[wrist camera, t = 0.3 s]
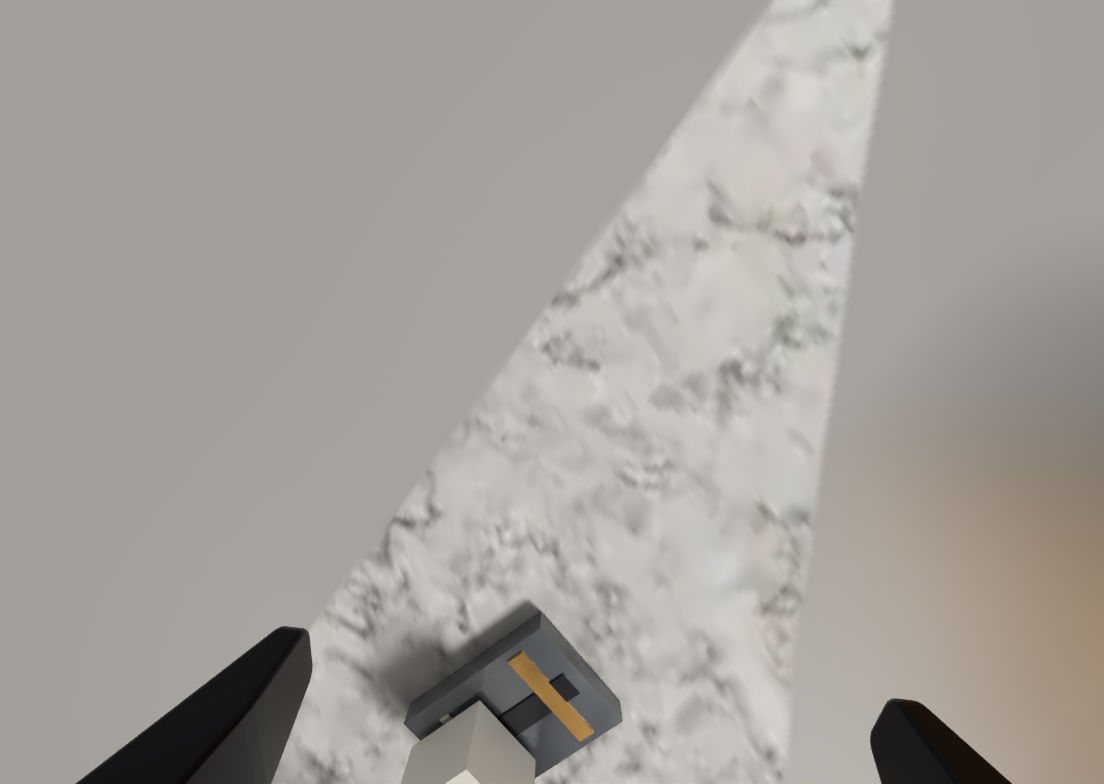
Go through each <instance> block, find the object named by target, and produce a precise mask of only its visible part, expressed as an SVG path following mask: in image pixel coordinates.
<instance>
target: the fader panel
mask: <svg viewBox="0 0 1104 784" xmlns="http://www.w3.org/2000/svg"><path fill="white" fill-rule="evenodd" d="M479 700H480V701H481V702H482V703H483V704H484V705H485V707H486V708H487V709H488V710H489V711H490V712H491V713H492V714H493V715H494V716H495V717H496V718H497V719H498V720H499V721H500V723H501V724H502V725H503V726H504V727H505V728H506V729H507V730H508V731H509V732H510V733H511V734H512V735H513V736H514V738H515V739H516V740H517V741H518V742H519V743H520V744H521V745H522V746H523V747H524V748H525V749H526V750H527V751H528V752H529V754H530V755H531V756H532V757H533V758H534V759H535V760H536V763H535V778H536V777H538V776H539V775H541V774H542V773H544V772H545V771H547V770H548V769H550V768H552V767H553V766H555V765H556V764H558V763H559V762H561V761H562V760H564V759H565V758H567V757H568V756H570V755H571V754H573V753H575V752H576V751H578V750H579V749H581V748H582V747H584V746H585V745H587V744H588V743H590V742H591V741H593V740H595V739H596V738H598V737H599V736H601V735H602V734H604V733H605V732H607V731H608V730H610V729H611V728H613V727H615V726H616V725H618V724H619V723H621V722H622V721H623V720H622V713H621V706H620V701H619V700H618V699H617V697H616V696H615V695H614V694H613V693H612V692H611V691H610V689H609V688H608V687H607V686H606V685H605V684H604V683H603V681H602V680H601V679H600V678H599V677H598V676H597V675H596V674H595V672H594V671H593V670H592V669H591V668H590V667H589V666H588V664H587V663H586V662H585V661H584V660H583V659H582V658H581V656H580V655H579V654H578V653H577V652H576V651H575V650H574V649H573V647H572V646H571V645H570V644H569V643H568V642H567V641H566V639H565V638H564V637H563V636H562V635H561V634H560V633H559V631H558V630H557V629H556V628H555V627H554V626H553V625H552V623H551V622H550V621H549V620H548V619H547V618H546V617H545V616H544V614H543V613H542V612H540V613H539V614H537V615H536V616H535V617H533V618H532V619H530V620H529V621H527V622H526V623H525V624H523V625H522V626H520V627H519V628H518V629H516V630H515V631H513V632H512V633H510V634H509V635H508V636H506V637H505V638H503V639H502V640H500V641H499V642H498V643H496V644H495V645H493V646H492V647H491V648H489V649H488V650H486V651H485V652H483V653H482V654H481V655H479V656H478V657H476V658H475V659H473V660H472V661H471V662H469V663H468V664H466V665H465V666H463V667H462V668H461V669H459V670H458V671H456V672H455V673H454V674H452V675H451V676H449V677H448V678H446V679H445V680H444V681H442V682H441V683H439V684H438V685H436V686H435V687H434V688H432V689H431V690H429V691H428V692H427V693H425V694H424V695H422V696H421V697H419V698H418V699H417V700H415V701H414V702H412V703H411V705H410V707H409V710H408V713H407V716H406V719H405V722H404V724H405V725H406V726H407V727H408V728H409V729H410V730H411V731H412V732H413V733H414V734H415V735H416V736H417V738H418V739H419V740H420V741H421V740H423V739H424V738H425V737H427V736H428V735H430V734H431V733H433V732H434V731H436V730H437V729H439V728H440V727H441V726H443V725H444V724H446V723H447V722H449V721H450V720H452V719H453V718H455V717H456V716H457V715H459V714H460V713H462V712H463V711H465V710H466V709H468V708H469V707H470V706H472V705H473V704H475V703H476V702H478V701H479Z"/></svg>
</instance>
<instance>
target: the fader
mask: <svg viewBox="0 0 1104 784" xmlns="http://www.w3.org/2000/svg"><path fill="white" fill-rule="evenodd" d="M535 763H536V760H535V759H534V758H533V757H532V756H531V755H530V754H529V752H528V751H527V750H526V749H525V748H524V747H523V746H522V745H521V744H520V743H519V742H518V741H517V740H516V739H515V738H514V736H513V735H512V734H511V733H510V732H509V731H508V730H507V729H506V728H505V727H504V726H503V725H502V724H501V723H500V721H499V720H498V719H497V718H496V717H495V716H494V715H493V714H492V713H491V712H490V711H489V710H488V709H487V708H486V707H485V705H484V704H483V703H482V702H481V701H480V700H479V701H478V702H476V703H475V704H473V705H472V706H470V707H469V708H468V709H466V710H465V711H463V712H462V713H460V714H459V715H457V716H456V717H455V718H453V719H452V720H450V721H449V722H447V723H446V724H444V725H443V726H441V727H440V728H439V729H437V730H436V731H434V732H433V733H431V734H430V735H428V736H427V737H425V738H424V739H423V740H421V741H420V742H418V743H417V744H415V745H414V746H412V749H411V753H410V756H409V759H408V762H407V765H406V768H405V772H404V775H403V778H402V781H401V784H534V783H535Z"/></svg>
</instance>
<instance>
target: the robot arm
mask: <svg viewBox="0 0 1104 784" xmlns="http://www.w3.org/2000/svg"><path fill="white" fill-rule="evenodd" d="M311 674H312V656H311V646H310V636H309V633H308V631H307V630H306V629H304V628H296V627H287V626H283V627H280V628H278V629H276V630H274V631H273V632H272V633H270V634H269V635H268V636H267V637H265V638H264V639H263V640H261V641H260V642H259V643H257V644H256V645H255V646H254V647H252V648H251V649H250V650H248V651H247V652H246V653H244V654H243V655H242V656H241V657H239V658H238V659H237V660H235V661H234V662H233V663H232V664H230V665H229V666H228V667H226V668H225V669H224V670H222V671H221V672H220V673H219V674H217V675H216V676H215V677H213V678H212V679H211V680H209V681H208V682H207V683H206V684H204V685H203V686H202V687H200V688H199V689H198V690H197V691H195V692H194V693H193V694H191V695H190V696H189V697H188V698H186V699H185V700H184V701H182V702H181V703H180V704H178V705H177V706H176V707H175V708H173V709H172V710H171V711H169V712H168V713H167V714H165V715H164V716H163V717H162V718H160V719H159V720H158V721H157V722H155V723H154V724H153V725H151V726H150V727H149V728H147V729H146V730H145V731H144V732H142V733H141V734H139V735H138V736H137V737H136V738H135V739H133V740H132V741H130V742H129V743H128V744H126V745H125V746H124V747H123V748H121V749H120V750H119V751H117V752H116V753H115V754H114V755H112V756H111V757H110V758H108V759H107V760H106V761H104V762H103V763H102V764H101V765H99V766H98V767H97V768H95V769H94V770H93V771H92V772H90V773H89V774H88V775H86V776H85V777H84V778H83V779H81V780H80V781H79V782H77V783H76V784H271V783H272V780H273V778H274V775H275V773H276V770H277V767H278V765H279V762H280V759H281V757H282V754H283V751H284V749H285V746H286V743H287V741H288V738H289V735H290V733H291V730H292V727H293V725H294V722H295V719H296V717H297V714H298V711H299V708H300V706H301V703H302V700H303V698H304V695H305V692H306V690H307V687H308V684H309V682H310V678H311ZM870 743H871V749H872V753H873V756H874V760H875V763H876V767H877V770H878V773H879V777H880V780H881V784H1012V783H1011V782H1010V781H1008V780H1007V779H1006V778H1005V777H1004V776H1003V775H1002V774H1000V773H999V772H998V771H997V770H996V769H995V768H994V767H993V766H991V765H990V764H989V763H988V762H987V761H986V760H985V759H984V758H983V757H982V756H980V755H979V754H978V753H977V752H976V751H975V750H974V749H972V748H971V747H970V746H969V745H968V744H967V743H966V742H964V740H962V739H961V738H960V737H959V736H958V735H957V734H956V733H955V732H953V731H952V730H951V729H950V728H949V727H948V726H946V724H944V723H943V722H942V721H941V720H940V719H939V718H938V717H937V716H936V715H934V714H933V713H932V712H931V711H930V710H929V709H928V708H926V707H925V706H924V705H923V704H921V703H919V702H917V701H913V700H905V699H894V698H893V699H890V700H889V701H887V703H886V704H885V706H884V708H883V710H882V712H881V714H880V715H879V717H878V719H877V721H876V723H875V725H874V727H873V729H872V731H871V736H870Z"/></svg>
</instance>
